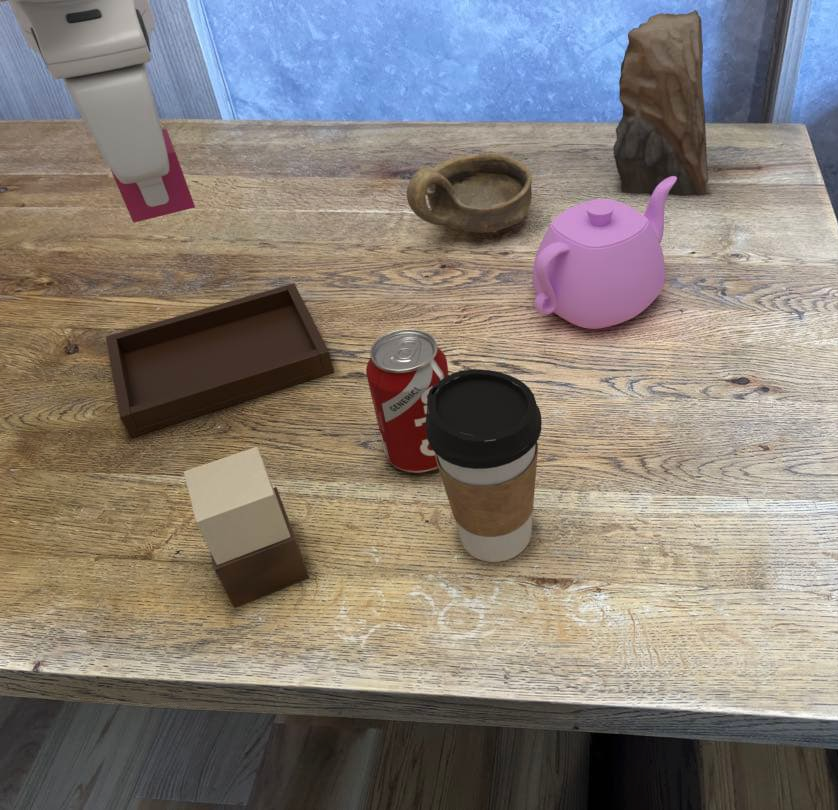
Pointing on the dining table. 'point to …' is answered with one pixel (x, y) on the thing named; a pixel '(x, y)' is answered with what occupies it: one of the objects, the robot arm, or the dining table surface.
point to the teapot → (602, 261)
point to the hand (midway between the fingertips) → (153, 185)
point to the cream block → (235, 505)
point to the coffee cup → (486, 458)
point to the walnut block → (263, 569)
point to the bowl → (472, 192)
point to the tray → (214, 358)
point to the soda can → (405, 394)
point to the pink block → (173, 185)
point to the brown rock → (663, 107)
